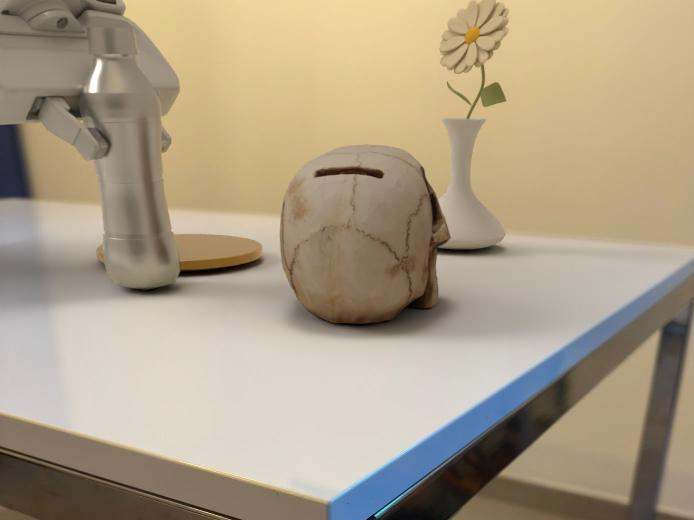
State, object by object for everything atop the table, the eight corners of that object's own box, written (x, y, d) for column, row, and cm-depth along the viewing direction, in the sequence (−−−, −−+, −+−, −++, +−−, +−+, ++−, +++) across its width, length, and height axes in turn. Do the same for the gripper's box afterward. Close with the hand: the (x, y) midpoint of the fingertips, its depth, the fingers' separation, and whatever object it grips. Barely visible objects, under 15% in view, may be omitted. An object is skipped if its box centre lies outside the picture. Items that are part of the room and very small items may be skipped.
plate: (65, 271, 77) (63, 255, 76) (143, 244, 91) (141, 231, 91) (230, 280, 74) (229, 264, 73) (282, 251, 89) (282, 237, 88)
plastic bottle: (153, 299, 67) (117, 25, 57) (91, 291, 69) (47, 26, 60) (198, 284, 72) (172, 30, 62) (139, 277, 74) (105, 31, 65)
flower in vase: (392, 242, 95) (397, 0, 84) (472, 238, 100) (488, 6, 88) (444, 261, 85) (458, -13, 73) (531, 255, 89) (557, -5, 78)
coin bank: (400, 276, 76) (407, 125, 68) (494, 340, 63) (515, 162, 55) (244, 295, 70) (232, 131, 63) (313, 369, 57) (308, 175, 50)
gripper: (-84, -33, 54) (43, 127, 55) (130, -7, 70) (227, 117, 71) (-104, 43, 58) (15, 192, 59) (102, 51, 74) (194, 168, 75)
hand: (132, 151), depth 65 cm, fingers closed on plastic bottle, 6 cm apart
